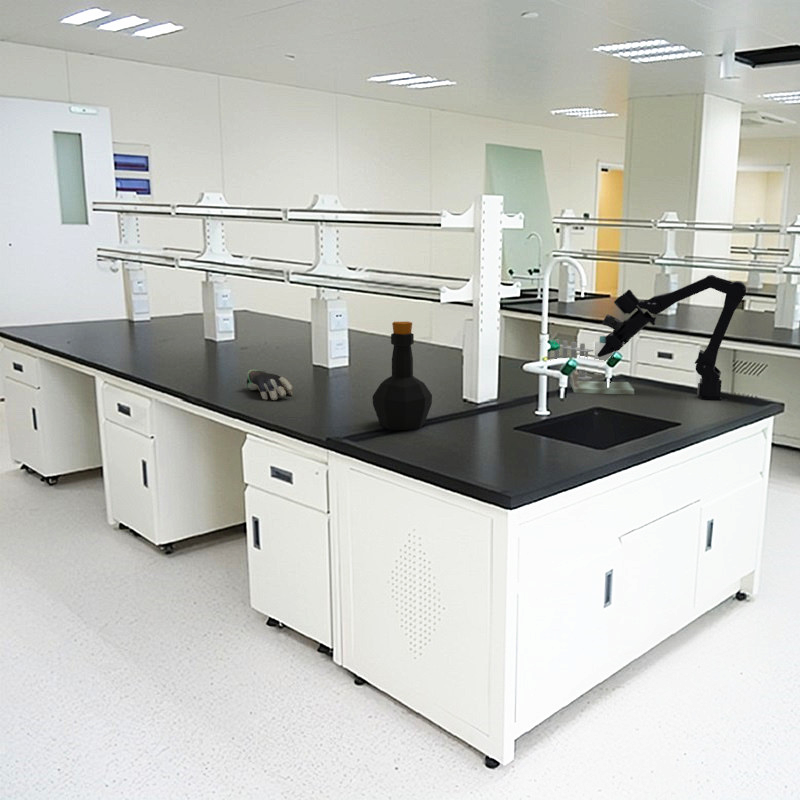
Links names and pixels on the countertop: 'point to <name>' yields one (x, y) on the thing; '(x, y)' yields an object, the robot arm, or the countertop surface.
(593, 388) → the shelf board
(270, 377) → the glove
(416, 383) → the bottle
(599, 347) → the white bottle
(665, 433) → the countertop surface
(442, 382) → the countertop surface
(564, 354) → the test tube rack
